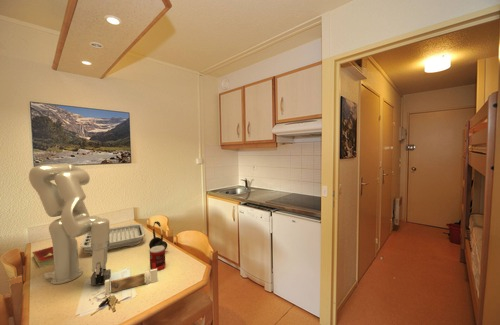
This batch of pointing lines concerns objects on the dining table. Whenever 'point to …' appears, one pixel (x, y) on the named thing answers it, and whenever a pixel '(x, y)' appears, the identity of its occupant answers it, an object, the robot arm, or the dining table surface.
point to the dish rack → (118, 237)
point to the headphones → (157, 239)
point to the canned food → (157, 258)
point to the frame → (148, 275)
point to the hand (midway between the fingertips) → (100, 279)
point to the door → (127, 282)
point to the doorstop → (105, 272)
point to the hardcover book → (44, 257)
